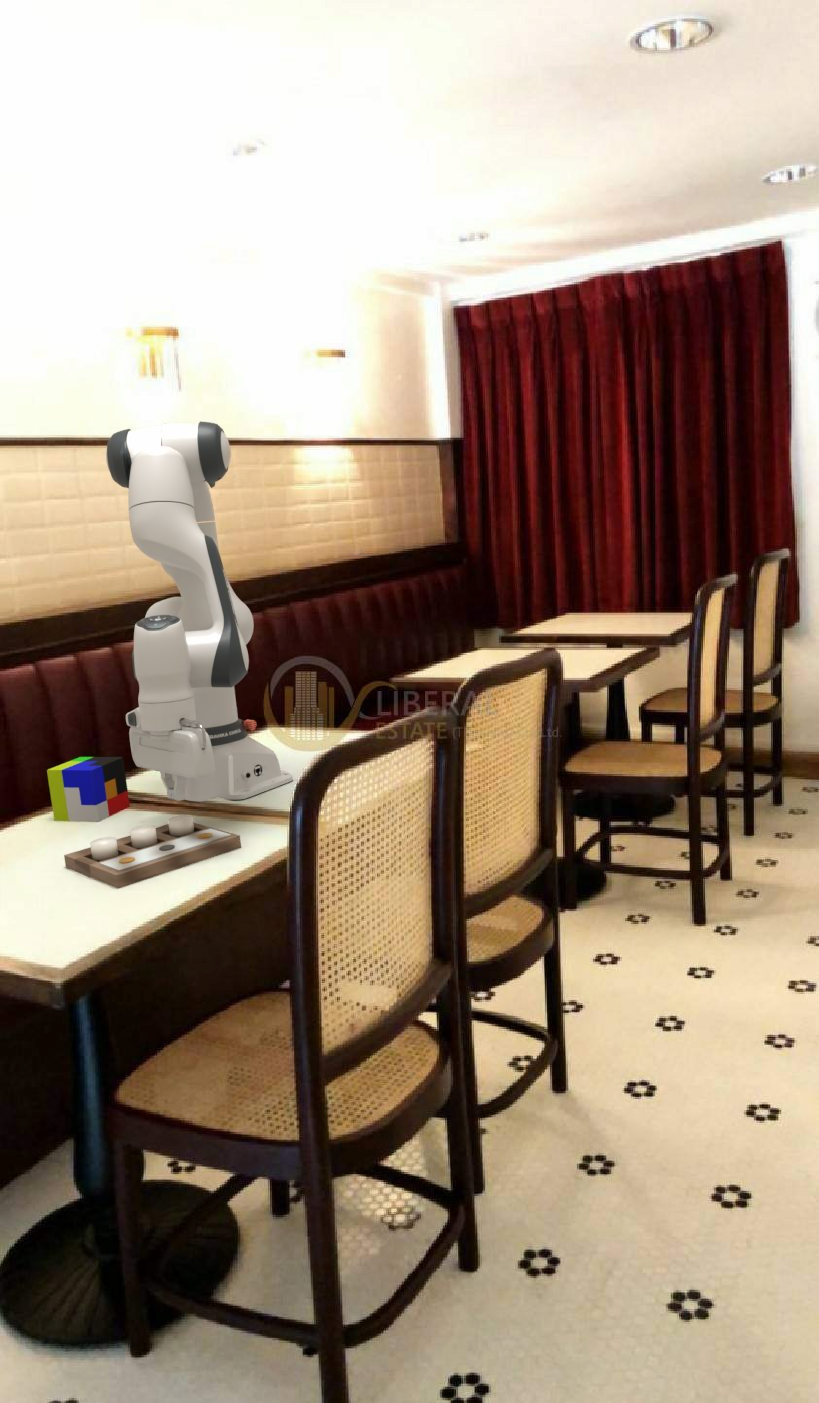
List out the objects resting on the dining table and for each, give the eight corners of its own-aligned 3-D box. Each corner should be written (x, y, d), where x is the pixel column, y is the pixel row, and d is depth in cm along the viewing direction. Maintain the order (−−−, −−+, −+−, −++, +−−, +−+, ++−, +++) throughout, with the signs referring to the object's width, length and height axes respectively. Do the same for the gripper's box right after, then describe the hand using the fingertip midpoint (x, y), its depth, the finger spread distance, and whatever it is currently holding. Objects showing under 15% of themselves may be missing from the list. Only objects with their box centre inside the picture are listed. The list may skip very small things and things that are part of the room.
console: (185, 836, 188) (183, 816, 187) (241, 853, 176) (239, 832, 175) (66, 873, 173) (63, 852, 173) (119, 894, 161) (116, 872, 160)
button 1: (110, 850, 174) (108, 835, 174) (123, 854, 171) (121, 839, 171) (87, 857, 171) (85, 842, 171) (99, 862, 168) (97, 846, 168)
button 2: (186, 827, 183) (184, 813, 183) (198, 831, 180) (197, 816, 180) (165, 833, 181) (163, 819, 180) (178, 837, 178) (176, 823, 177)
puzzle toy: (98, 822, 202) (91, 770, 200) (54, 821, 206) (46, 770, 204) (129, 807, 211) (123, 757, 209) (87, 806, 215) (80, 756, 213)
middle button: (149, 838, 179) (147, 824, 178) (162, 842, 176) (160, 828, 175) (127, 845, 176) (125, 830, 175) (140, 849, 173) (138, 834, 173)
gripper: (220, 718, 171) (228, 803, 174) (153, 708, 186) (161, 787, 188) (185, 725, 167) (194, 812, 169) (120, 714, 182) (129, 794, 184)
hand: (176, 799), depth 179 cm, fingers closed
